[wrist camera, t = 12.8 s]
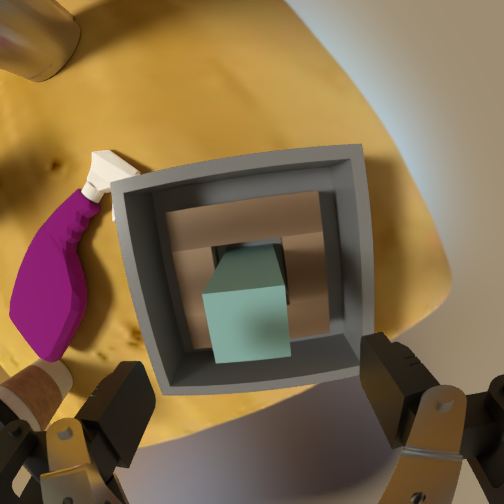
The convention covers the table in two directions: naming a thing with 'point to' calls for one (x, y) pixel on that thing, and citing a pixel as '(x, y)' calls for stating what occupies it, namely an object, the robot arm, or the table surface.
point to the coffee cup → (34, 394)
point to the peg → (247, 306)
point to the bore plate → (251, 229)
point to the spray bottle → (61, 264)
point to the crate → (240, 188)
